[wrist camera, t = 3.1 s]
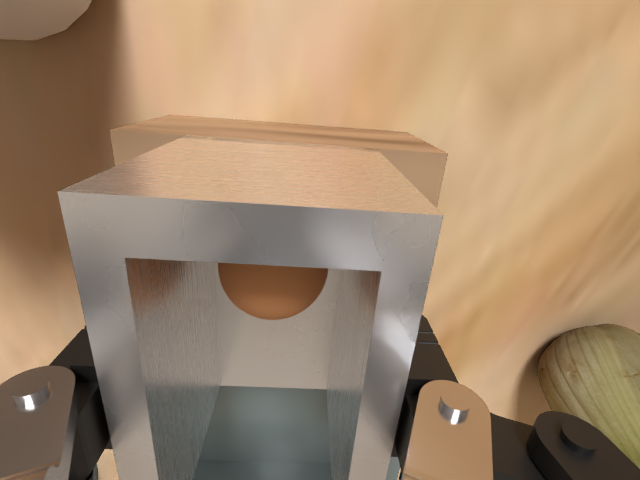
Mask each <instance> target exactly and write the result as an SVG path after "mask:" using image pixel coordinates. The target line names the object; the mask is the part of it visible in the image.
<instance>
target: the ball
mask: <svg viewBox="0 0 640 480" xmlns="http://www.w3.org/2000/svg"><path fill="white" fill-rule="evenodd" d="M218 273H219V278H220V282H221V285H222V287H223V290H224V291H225V293H226V295H227V296H228V298H229V299H230V300H231V301H232V303H233V304H234V305H236V306H237V307H238V308H239V309H241V310H242V311H244V312H245V313H247V314H249V315H251V316H254V317H257V318H260V319H266V320H279V319H285V318H289V317H292V316H295V315H297V314H299V313H301V312H302V311H304V310H305V309H307V308H308V307H309V306H310V305H311V304H312V303H313V302H314V301H315V300H316V299H317V297H318V296H319V294H320V293H321V291H322V289H323V287H324V285H325V282H326V279H327V275H328V268H311V267H292V266H273V265H254V264H235V263H218Z"/></svg>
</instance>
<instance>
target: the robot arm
mask: <svg viewBox="0 0 640 480" xmlns="http://www.w3.org/2000/svg"><path fill="white" fill-rule="evenodd" d="M104 449H113V448H112V443H111V438H110V434H109V429H108V424H107V420H106V415H105V411H104V406H103V401H102V397H101V392H100V387H99V383H98V378H97V373H96V369H95V364H94V360H93V355H92V350H91V346H90V341H89V336H88V332H87V327H86V326H85V329H82V330H81V331H80V332H79V333H78V334H77V335H76V336H75V338H74V339H73V340H72V341H71V342H70V343H69V344H68V345H67V346H66V347H65V348H64V350H63V351H62V352H61V353H60V354H59V355H58V356H57V357H56V358H55V359H54V360H53V362H52V363H51V364H50V365H49V366H44V367H38V368H34V369H31V370H28V371H25V372H22V373H20V374H18V375H16V376H14V377H12V378H10V379H8V380H7V381H5V382H4V383H2V384H1V385H0V480H98V468H97V464H96V463H97V462H98V460H99V458H100V456H101V454H102V453H103V451H104ZM391 457H398V459H399V464H400V468H401V472H400V476H399V480H640V469H639V468H638V467H637V466H636V465H635V464H634V463H633V462H632V461H631V460H630V459H629V458H628V457H627V456H626V455H625V454H624V453H623V452H622V451H621V450H620V449H619V448H618V447H617V446H616V445H615V444H614V443H613V442H612V441H611V440H610V439H609V438H608V437H606V436H605V435H604V434H603V433H602V432H601V431H600V430H598V429H597V428H596V427H594V426H593V425H591V424H590V423H588V422H586V421H584V420H582V419H581V418H578V417H576V416H574V415H571V414H568V413H564V412H559V411H548V412H544V413H542V414H540V415H539V416H538V417H537V419H536V421H535V424H534V426H530V425H527V424H524V423H520V422H517V421H513V420H510V419H507V418H503V417H500V416H497V415H495V414H492V413H490V412H489V409H488V407H487V405H486V404H485V402H484V401H483V400H482V399H481V398H480V397H479V396H478V395H477V394H476V393H475V392H474V391H472V390H471V389H469V388H467V387H466V386H464V385H462V384H459V383H458V381H457V379H456V377H455V375H454V373H453V371H452V369H451V367H450V365H449V363H448V361H447V359H446V357H445V355H444V353H443V351H442V349H441V347H440V345H438V341H437V339H436V337H435V335H434V334H433V331H432V329H431V327H430V325H429V323H428V320H427V319H426V318H425V317H424V316H423V315H422V316H421V320H420V325H419V330H418V334H417V339H416V343H415V348H414V352H413V357H412V361H411V366H410V371H409V375H408V380H407V384H406V389H405V393H404V398H403V403H402V407H401V412H400V416H399V421H398V425H397V430H396V435H395V439H394V444H393V448H392V453H391Z"/></svg>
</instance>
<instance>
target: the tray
mask: <svg viewBox="0 0 640 480" xmlns="http://www.w3.org/2000/svg"><path fill="white" fill-rule="evenodd" d="M399 469H400V464H399V459H398V457H390V462H389V467H388V471H387V476H386V480H397V477H398V473H399ZM193 480H332V478H331V460H330V442H329V424H328V407H327V389H304V388H276V387H247V386H220V388H219V392H218V395H217V399H216V402H215V405H214V409H213V412H212V416H211V419H210V423H209V426H208V429H207V433H206V436H205V440H204V443H203V446H202V450H201V453H200V457H199V460H198V464H197V467H196V470H195V474H194V477H193Z"/></svg>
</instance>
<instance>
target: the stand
mask: <svg viewBox="0 0 640 480" xmlns="http://www.w3.org/2000/svg"><path fill="white" fill-rule="evenodd" d="M109 130H110V136H111V143H112V150H113V157H114V163H115V166H117V165H119V164H121V163H124V162H126V161H128V160H130V159H133V158H135V157H137V156H140V155H142V154H144V153H147V152H149V151H151V150H153V149H156V148H158V147H160V146H163V145H165V144H167V143H170V142H172V141H174V140H176V139H179V138H181V137H183V136H186V135H194V136H209V137H223V138H237V139H251V140H265V141H279V142H293V143H307V144H321V145H335V146H349V147H363V148H376V149H377V150H378V151H379V152H380V153H381V154H382V155H383V156H384V157H385V158H386V159H387V160H388V161H389V162H390V163H391V164H392V165H393V166H394V167H395V168H396V169H398V170H399V171H400V172H401V173H402V174H403V175H404V176H405V177H406V178H407V179H408V180H409V181H410V182H411V183H412V184H413V185H414V186H415V187H416V188H417V189H418V190H419V191H420V192H421V193H422V194H423V195H424V196H425V197H426V198H427V199H428V200H429V201H430V202H431V203H432V204H433V205H434V206H435V207H436V208H437V204H438V199H439V194H440V189H441V184H442V180H443V175H444V170H445V165H446V161H447V156H448V153H446V152H444V151H442V150H440V149H438V148H436V147H434V146H432V145H430V144H429V143H427V142H425V141H423V140H421V139H419V138H417V137H415V136H413V135H411V134H409V133H406V132H393V131H379V130H366V129H352V128H339V127H325V126H312V125H298V124H285V123H271V122H258V121H244V120H230V119H217V118H203V117H190V116H176V115H168V116H164V117H160V118H155V119H151V120H147V121H143V122H139V123H134V124H130V125H126V126H122V127H118V128H113V129H109Z"/></svg>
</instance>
